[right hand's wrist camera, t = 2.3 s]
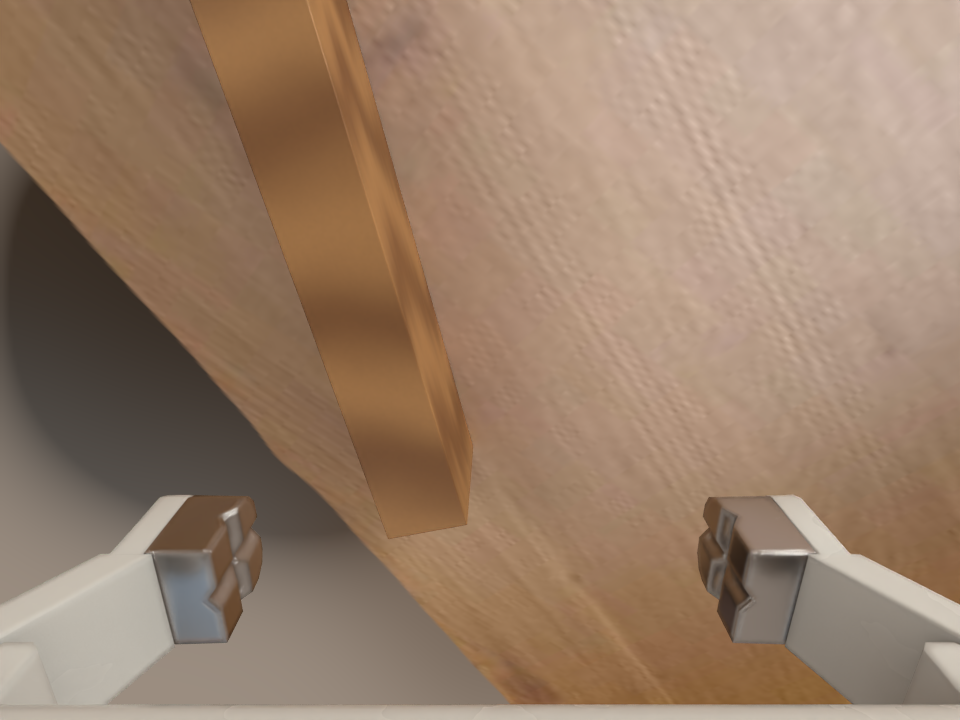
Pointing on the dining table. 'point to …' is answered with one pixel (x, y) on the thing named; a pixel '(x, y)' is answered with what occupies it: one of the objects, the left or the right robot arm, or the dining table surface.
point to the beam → (347, 246)
